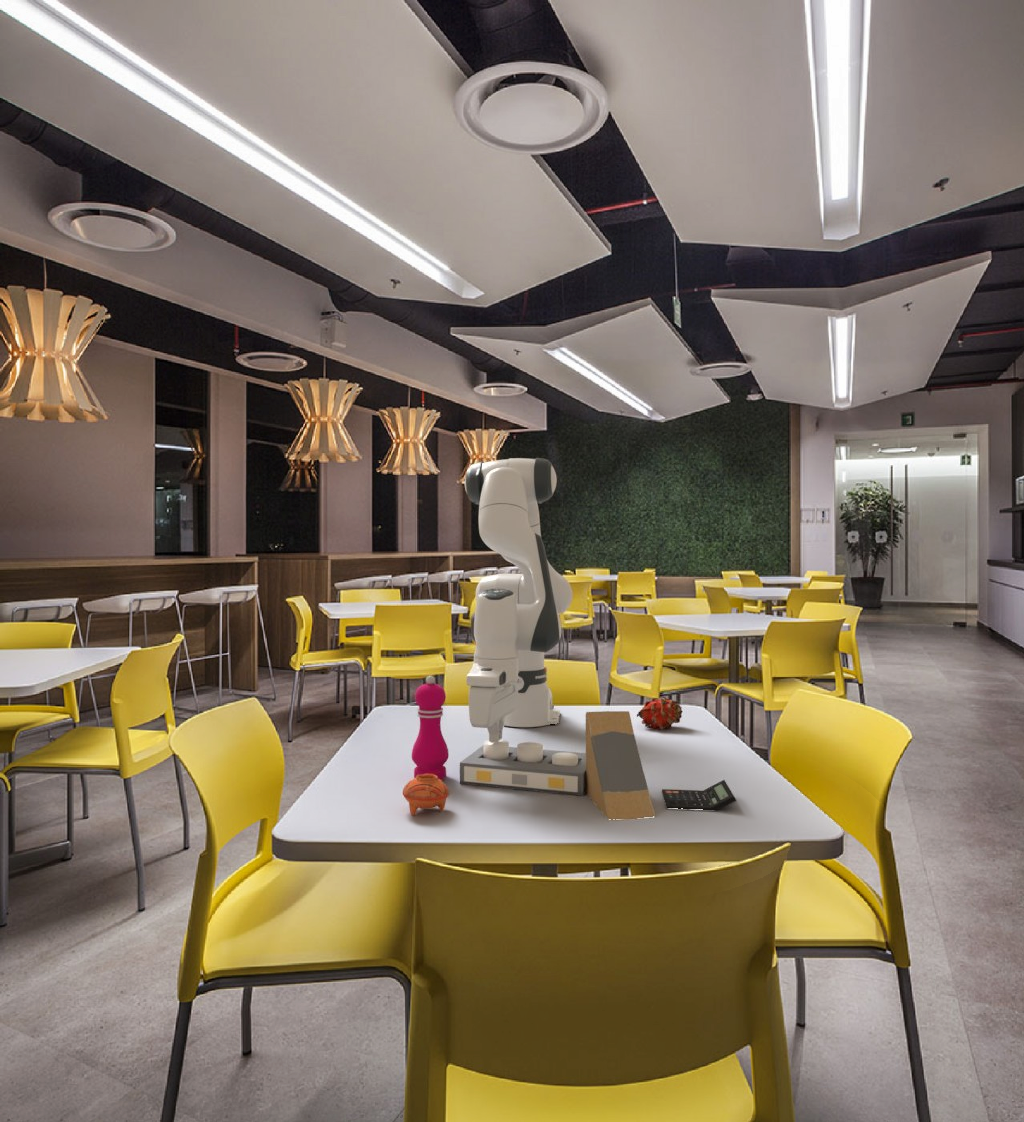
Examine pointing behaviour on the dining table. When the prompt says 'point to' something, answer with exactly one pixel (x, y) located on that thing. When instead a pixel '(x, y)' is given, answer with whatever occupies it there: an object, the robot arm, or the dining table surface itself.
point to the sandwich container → (615, 767)
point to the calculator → (700, 797)
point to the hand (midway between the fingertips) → (495, 740)
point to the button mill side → (496, 750)
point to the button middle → (530, 752)
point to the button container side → (565, 759)
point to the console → (525, 773)
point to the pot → (425, 793)
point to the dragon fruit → (660, 713)
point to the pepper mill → (430, 731)
